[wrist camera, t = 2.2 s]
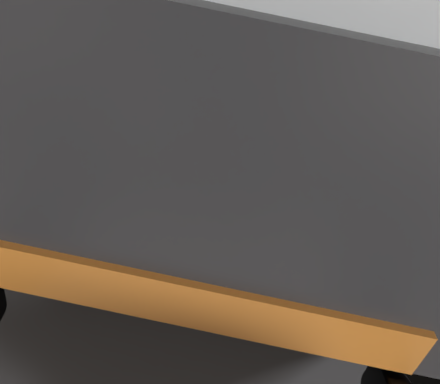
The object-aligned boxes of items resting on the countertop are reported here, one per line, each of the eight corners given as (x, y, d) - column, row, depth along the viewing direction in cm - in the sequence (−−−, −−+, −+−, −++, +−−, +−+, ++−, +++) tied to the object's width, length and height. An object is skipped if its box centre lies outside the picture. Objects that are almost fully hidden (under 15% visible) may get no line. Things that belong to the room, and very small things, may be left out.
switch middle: (620, 86, 6) (695, 110, 5) (432, 343, 9) (452, 390, 8) (-123, -68, 6) (-203, -74, 5) (-46, 242, 9) (-84, 276, 8)
